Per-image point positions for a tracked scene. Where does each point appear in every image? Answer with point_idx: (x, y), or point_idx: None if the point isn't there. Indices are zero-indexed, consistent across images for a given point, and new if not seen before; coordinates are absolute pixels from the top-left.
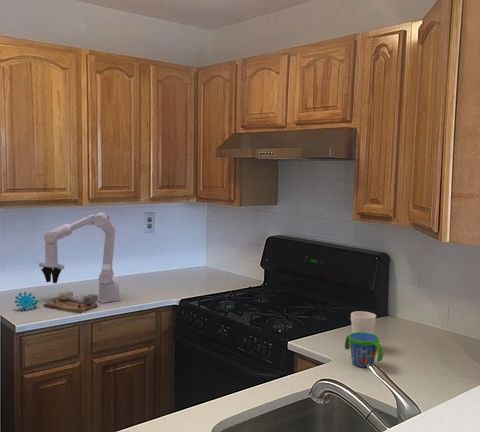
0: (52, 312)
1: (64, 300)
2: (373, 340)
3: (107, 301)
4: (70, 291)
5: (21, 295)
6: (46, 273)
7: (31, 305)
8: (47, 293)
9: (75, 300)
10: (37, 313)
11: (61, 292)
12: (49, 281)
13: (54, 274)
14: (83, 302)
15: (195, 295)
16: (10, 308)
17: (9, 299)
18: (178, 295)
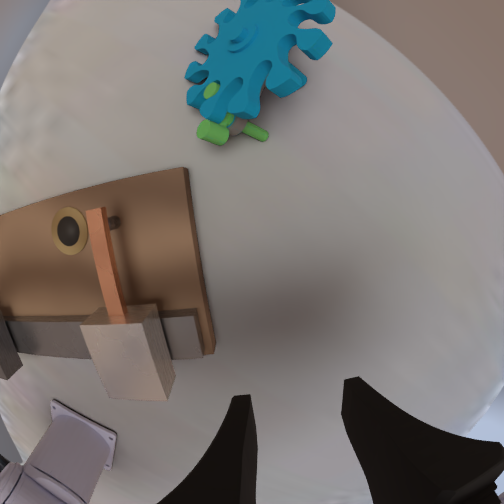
0: (57, 137)
1: None
2: None
3: (51, 414)
4: (123, 395)
5: (298, 9)
6: (395, 459)
7: (202, 69)
8: (418, 383)
9: (53, 325)
10: (108, 65)
11: (137, 343)
12: (344, 406)
13: (177, 487)
14: (14, 320)
15: None
16: (343, 37)
17: (491, 185)
18: None
